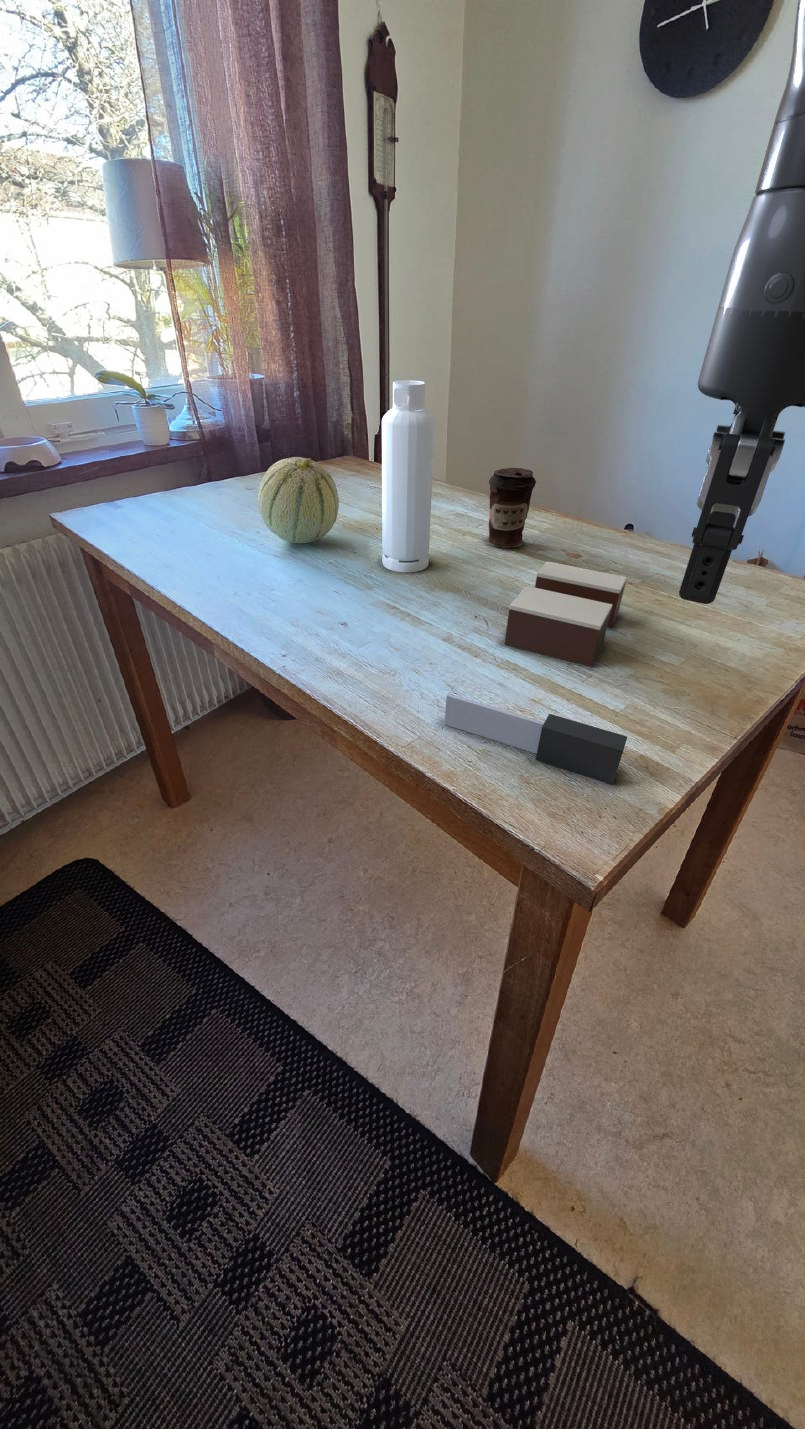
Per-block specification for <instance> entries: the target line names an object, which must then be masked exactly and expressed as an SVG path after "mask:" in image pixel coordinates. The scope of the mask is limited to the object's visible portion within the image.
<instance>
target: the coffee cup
mask: <svg viewBox="0 0 805 1429" xmlns="http://www.w3.org/2000/svg"><path fill="white" fill-rule="evenodd" d="M533 475H534V472H533V470H532V469H527V468H522V467H507V468H500V469H497V470H496V469H495V470H493V475H492V476H490V478H489V480H488V484H489V508H488V509H489V517H488V543H489V544H490V545H492V546H494V547H499V548H504V549H505V548H516V547H520V546H522V545H523V536H524V534H523V531H524V529H525V524H526V523H525V522H526V520H527V518H528V514H529V511H530V504H531V500H532V494H533V491H534V488H535V486H536V483H537V481H536V478H535V477H534V476H533Z"/></svg>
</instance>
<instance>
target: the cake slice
mask: <svg viewBox="0 0 805 1429" xmlns="http://www.w3.org/2000/svg"><path fill="white" fill-rule="evenodd" d="M627 580H628V577H627V576H624V575H623V576H622V575H618V574H612V573H607V572H603V571H598V570H594V569H589V568H588V569H587V568H583V567H582V568H581V567H579V566H573V565H567V564H562V563H557V562H553V561H546V562H545V563H544V564H543V566H541V568H540V569H539V570H538V571H537V573H536V578H535V585H534V588H539V589H543V590H548V591H553V592H557V593H562V594H566V595H571V596H576V597H580V598H585V599H589V600H594V601H599V602H603V603H608V604H612V609H611V613H610V617H609V621H608V626H607V628H609V629H610V628H612V627H613V625H614V623H615V621H616V619H617V617H618V615H619V612H620V609H621V608H620V607H621V603H622V599H623V595H624V591H625V588H626V584H627Z"/></svg>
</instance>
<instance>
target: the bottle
mask: <svg viewBox="0 0 805 1429" xmlns="http://www.w3.org/2000/svg"><path fill="white" fill-rule="evenodd" d="M425 394H426V382H425V381H423V380H414V379H412V380H411V379H401V380H394V381H392V408H390V409H389V410H388V411H387V412H386V413H385V414H384V415H383V417H382V418H381V518H382V519H381V532H382V535H381V536H382V537H381V540H382V542H381V544H382V548H381V549H382V555H381V557H382V559H381V560H382V566H383V567H384V568H386V569H388V570H390V571H393V572H397V573H415V572H420V571H423V570H425V569H427V568H428V567H429V562H430V554H429V552H430V542H431V541H430V540H431V539H430V538H431V517H432V516H431V515H432V495H433V494H432V492H433V474H434V473H433V471H434V470H433V469H434V448H435V426H436V425H435V424H436V421H435V419H434V416H433V415H432V414H431V412H430V411H429V410H427V409H425V398H426V395H425Z"/></svg>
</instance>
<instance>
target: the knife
mask: <svg viewBox="0 0 805 1429" xmlns="http://www.w3.org/2000/svg"><path fill="white" fill-rule="evenodd" d="M445 698H446V699H445V712H444V725H445V726H447V727H451V728H455V729H457V730H459V731H460V730H461V731H464V732H466V733H470V734H473V735H476V736H480V737H483V738H486V739H488V740H493V741H495V742H499V743H501V744H504V745H508V746H511V747H513V748H517V749H520V750H522V751H523V750H524V751H527V752H528V753H532V754H536V755H535V761H536V762H541V763H544V764H546V765H549V766H553V767H555V768H558V769H559V768H560V769H562V770H565V771H568V772H571V773H574V774H577V775H580V776H584V777H586V778H590V779H593V780H596V781H599V782H602V783H605V784H609V785H613V784H614V781H615V778H616V775H617V773H618V769H619V767H620V763H621V760H622V757H623V753H624V751H625V748H626V743H627V740H628V736H627V735H623V734H620V733H618V732H614V731H610V730H608V729H604V728H600V727H597V726H593V725H591V724H587V723H583V722H580V721H576V720H573V719H570V718H565V717H562V716H560V715H556V714H552V713H548V715H547V717H546V719H545V720H544V721H542V720H538V719H535V718H533V717H528V716H524V715H522V714H518V713H515V712H512V711H509V710H505V709H501V708H498V707H495V706H491V705H489V704H484V703H482V702H479V701H475V700H473V699H472V700H471V699H468V698H465V697H461V696H458V695H454V694H452V693H448V694H446V697H445Z"/></svg>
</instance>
